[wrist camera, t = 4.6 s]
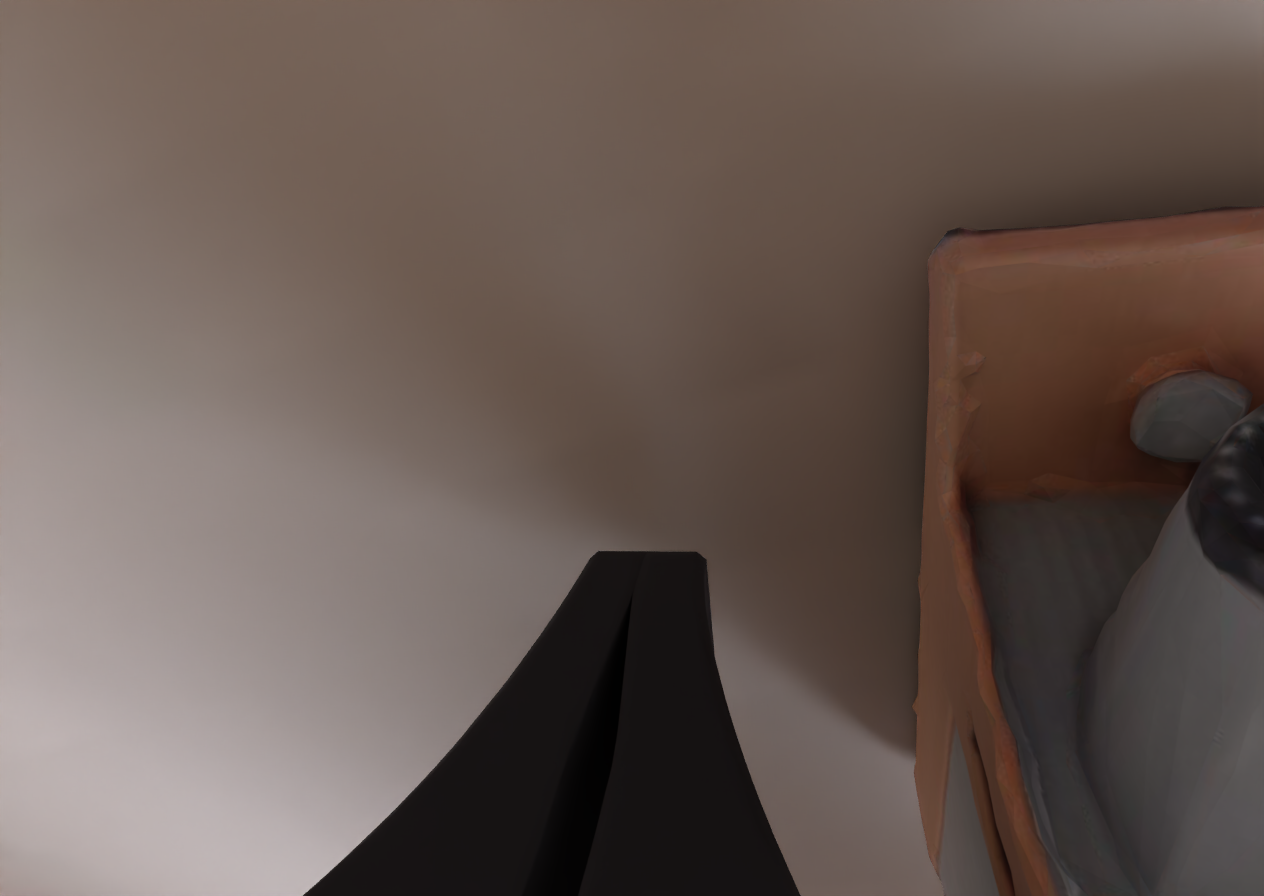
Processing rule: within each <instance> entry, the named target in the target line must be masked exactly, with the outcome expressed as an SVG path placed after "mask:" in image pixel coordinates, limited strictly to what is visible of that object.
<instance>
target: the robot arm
mask: <svg viewBox="0 0 1264 896" xmlns="http://www.w3.org/2000/svg"><path fill="white" fill-rule="evenodd" d="M303 896H801V895H800V893H799V891H798V889H797V887H796V884H795V882H794V880H793V878H792V875H791V873H790V871H789V869H788V866H787V864H786V862H785V859H784V857H783V855H782V853H781V850H780V848H779V846H778V844H777V841H776V839H775V837H774V834H773V832H772V829H771V827H770V824H769V822H768V819H767V817H766V814H765V812H764V809H763V807H762V805H761V802H760V799H759V797H758V794H757V792H756V789H755V786H754V784H753V781H752V778H751V775H750V773H749V770H748V767H747V764H746V762H745V759H744V756H743V753H742V750H741V747H740V744H739V741H738V738H737V735H736V732H735V729H734V726H733V723H732V719H731V716H730V713H729V709H728V706H727V703H726V699H725V695H724V691H723V688H722V684H721V680H720V676H719V672H718V668H717V664H716V660H715V655H714V644H713V632H712V620H711V608H710V596H709V584H708V572H707V560H706V559H705V558H704V557H703V556H701V555H700V554H699V553H698V552H658V551H598V552H597V553H595V554H594V555H593V556H592V557H591V558H590V559H589V561H588V563H587V564H586V566H585V568H584V569H583V571H582V573H581V574H580V576H579V577H578V579H577V581H576V582H575V584H574V585H573V587H572V589H571V590H570V592H569V593H568V595H567V596H566V598H565V599H564V601H563V602H562V604H561V605H560V607H559V608H558V610H557V611H556V613H555V614H554V616H553V617H552V619H551V620H550V622H549V623H548V625H547V626H546V628H545V629H544V631H543V632H542V633H541V635H540V636H539V638H538V639H537V640H536V642H535V643H534V644H533V646H532V647H531V649H530V650H529V651H528V653H527V654H526V655H525V657H524V658H523V660H522V661H521V662H520V664H519V665H518V666H517V668H516V669H515V671H514V672H513V673H512V675H511V676H510V677H509V679H508V680H507V681H506V683H505V684H504V685H503V687H502V688H501V689H500V690H499V692H498V693H497V694H496V695H495V697H494V698H493V699H492V700H491V701H490V703H489V704H488V705H487V706H486V708H485V709H484V710H483V711H482V712H481V714H480V715H479V716H478V717H477V719H476V720H475V721H474V722H473V724H472V725H471V726H470V727H469V728H468V730H467V731H466V732H465V733H464V735H463V736H462V737H461V738H460V739H459V741H458V742H457V743H456V744H455V745H454V746H453V748H452V749H451V750H450V751H449V752H448V753H447V754H446V755H445V757H444V758H443V759H442V760H441V761H440V762H439V763H438V764H437V766H436V767H435V768H434V769H433V770H432V771H431V772H430V773H429V774H428V775H427V776H426V778H425V779H424V780H423V781H422V782H421V783H420V784H419V785H418V786H417V787H416V788H415V789H414V790H413V791H412V792H411V793H410V794H409V795H408V796H407V798H406V799H405V800H404V801H403V802H402V803H401V804H400V805H399V806H398V807H397V808H396V809H395V810H394V811H393V812H392V813H391V814H390V815H389V816H388V817H387V818H386V819H385V820H384V821H383V822H382V823H381V824H380V825H379V826H378V827H377V828H376V829H374V830H373V831H372V832H371V833H370V834H369V835H368V836H367V837H366V838H365V839H364V840H363V841H362V842H361V843H360V844H359V845H358V846H357V847H356V848H355V849H354V850H353V851H352V852H351V853H350V854H348V855H347V856H346V857H345V858H344V859H343V860H342V861H341V862H340V863H339V864H338V865H337V866H336V867H334V868H333V869H332V870H331V871H330V872H329V873H328V874H327V875H326V876H325V877H323V878H322V879H321V880H320V881H319V882H318V883H317V884H316V885H314V886H313V887H312V888H311V889H310V890H309V891H308V892H307V893H305V894H304V895H303Z"/></svg>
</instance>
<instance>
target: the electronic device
mask: <svg viewBox="0 0 1264 896" xmlns="http://www.w3.org/2000/svg"><path fill="white" fill-rule="evenodd" d="M927 263H928V281H929V296H930V308H929V323H928V325H929V387H928V409H927V434H926V465H925V484H924V503H923V520H922V537H921V551H922V557H921V570H920V574H919V577H918V588H919V594H920V600H921V614H920V646H919V651H918V695H917V697H916V699H915V701H914V703H913V705H912V708H913V710H914V711H915V712H916V714H917V734H916V764H915V768H914V777H915V783H916V790H917V796H918V802H919V807H920V813H921V818H922V823H923V828H924V833H925V838H926V843H927V848H928V853H929V857H930V859H931V862H932V864H933V866H934V869H935V871H936V873H937V875H938V877H939V879H940V881H941V883H942V886H943V890H944V894H945V896H1264V206H1260V207H1221V208H1215V209H1209V210H1202V211H1196V212H1190V213H1184V214H1178V215H1172V216H1166V217H1154V218H1142V219H1130V220H1119V221H1109V222H1099V223H1089V224H1077V225H1064V226H1050V227H1036V228H1021V229H997V230H973V229H966V228H956V229H953V230H950V231H947V233H946V234H945V235H944V237H943V238H942V239H941V241H940V242H939V244H938V245H937V246H936V248H935V249H934V250H933V252H932V253H931V255H930V257H929V259H928V262H927Z"/></svg>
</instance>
